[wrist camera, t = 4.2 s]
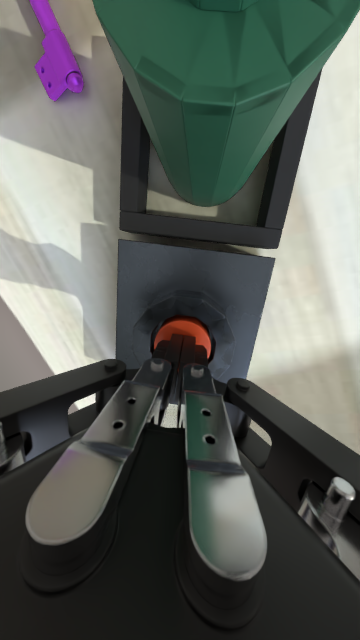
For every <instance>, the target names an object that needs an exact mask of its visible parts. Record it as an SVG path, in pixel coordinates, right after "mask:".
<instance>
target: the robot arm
mask: <svg viewBox="0 0 360 640" xmlns="http://www.w3.org/2000/svg"><path fill="white" fill-rule="evenodd" d="M182 344H183V347H182ZM181 351H182V352H181ZM177 378H178V380H177ZM176 383H177V387H176ZM175 389H176V395H175ZM94 393H96V403H94V404H91V405H89V406H87V407H85V408H82V409H80V410H78V411H76V412H74V413H72V414H69V415H68V409H69V407H70V406H71V405H72V404H73V403H74V402H75V401H77V400H80V399H82V398H85V397H87V396H89V395H92V394H94ZM174 395H175V402H176V403H178V409H177V417H176V428H165V427H162V425H163V422H164V418H165V415H166V410H167V407H168V404H169V402H173V401H174ZM251 419H252V420H253V421H254V422H256V423H257V424H258V425H259V426H260V427H262V428H263V429H264V430H265V431H266V432H267V433H268V434H269V436H270V438H271V441H272V446H270V445H269V444H268V443H267V442H265V441H264V440H263V439H262V438H261V437H260V436H259V435H258V434H256V433H255V432H254V431H253V430H252V429H251V428H250V423H251ZM0 640H360V455H358V454H357V453H355V452H354V451H352V450H351V449H350V448H348V447H347V446H345V445H344V444H342V443H341V442H339V441H338V440H336V439H335V438H333V437H332V436H330V435H329V434H327V433H326V432H325V431H323V430H322V429H320V428H319V427H317V426H316V425H314V424H313V423H311V422H310V421H308V420H307V419H305V418H304V417H302V416H301V415H300V414H298V413H297V412H295V411H294V410H292V409H291V408H289V407H288V406H286V405H285V404H283V403H282V402H280V401H279V400H277V399H276V398H275V397H273V396H272V395H270V394H269V393H267V392H266V391H264V390H263V389H261V388H260V387H258V386H257V385H255V384H254V383H252V382H251V381H249V380H246V379H243V378H231V379H229V380H228V382H227V384H226V383H223V382H220V381H218V380H216V379H214V378H213V377H212V374H211V371H210V369H209V368H208V358H207V349H206V348H205V347H204V346H203V345H197V344H196V337H194V336H187V335H184V341H183V335H179V334H172V336H171V339H170V341H168V340H162V341H160V342H158V344H157V346H156V348H155V351H154V353H153V355H152V357H151V359H148V360H146V361H145V362H144V363H143V364H142V366H141V367H140V368H138V369H126V364H125V363H124V362H123V361H121V360H117V359H107V360H103V361H100V362H96V363H93V364H90V365H87V366H84V367H80V368H77V369H74V370H71V371H67V372H64V373H61V374H58V375H55V376H51V377H48V378H45V379H42V380H39V381H35V382H32V383H29V384H26V385H22V386H19V387H16V388H13V389H10V390H6V391H3V392H0Z"/></svg>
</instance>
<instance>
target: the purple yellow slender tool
mask: <svg viewBox="0 0 360 640" xmlns="http://www.w3.org/2000/svg"><path fill="white" fill-rule="evenodd" d="M29 1H30V3H31V6H32V8H33V10H34V12H35V14H36V16H37V19H38V21H39V23H40V25H41V27H42V30H43V32H44V34H45V36H46V37H45V39H44V40H43V42H42V46H43V48H44V50H45V53H44V54H43V56H42V57H41V58H40V60H39V61H38V62H37V64H36V65H35V69H36V71H37V73H38V75H39V77H40V79H41V81H42V84H43V86H44V88H45V90H46V92H47V94H48V96H49V98H50V99H52V100H54V101H56V100H57V99H58V98H59V97H60V96H61V94H62V93H63V92H64V91H65V90H66V89H67V88H68V89H69V90H71V91H72V92H73V91H74V92H76V93H80V92H81V91H82V89H83V85H84V82H83V77H82V74H81V71H80V69H79V67H78V65H77V62H76V60H75V58H74V56H73V53H72V51H71V49H70V46H69V44H68V42H67V40H66V37H65V35H64V34H63V33H62V32H61V30H60V27H59V25H58V23H57V21H56V18H55V16H54V14H53V12H52V9H51V7H50V5H49V3H48V0H29Z"/></svg>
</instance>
